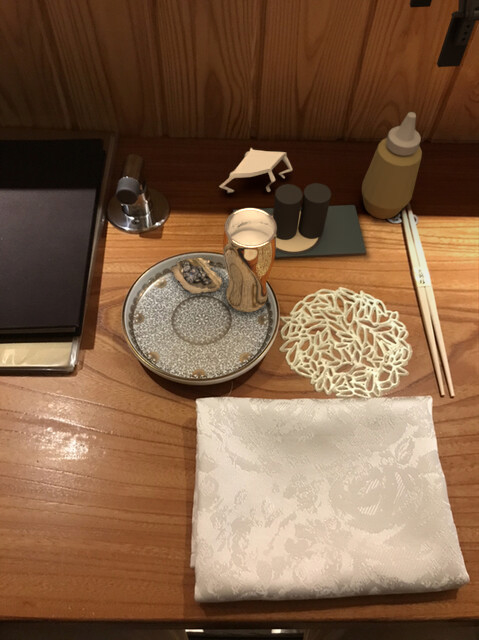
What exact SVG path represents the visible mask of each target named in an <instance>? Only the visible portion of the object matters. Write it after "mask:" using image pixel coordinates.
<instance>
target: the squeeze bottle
mask: <svg viewBox="0 0 479 640" xmlns="http://www.w3.org/2000/svg"><path fill="white" fill-rule="evenodd" d="M416 120H417V114H416V113H415V112H414V111H408V112H407V114H406V116H405V117H404V119H403V120H402V122H401V123H400V125H398V126H395V127H392V128H391V129H390V130H389V131H388V134H387V137H385V138H383V139H382V140H381V141H380V142H379V143H378V145H377V147H376V149H375V152H374V154H373V157H372V159H371V162H370V164H369V167H368V169H367V171H366V173H365V176H364V178H363V180H362V185H361V189H360V190H361V195H362V202H363V206H364V209H365V211H366V212H367V213H368V214H369V215H370V216H372V217H374V218H377V219H381V220H386V219H391V218H394V217H396V216H397V215H398V214H399V213H400V212H401V211H402V210H403V209H404V208H405V207H406V206H407V205H408V204H409V202H410V201H411V200H412V199H413V194H414V190H415V185H416V181H417V177H418V174H419V168H420V166H421V160H422V155H423V151H422V149H421V146H420V144H421V138H422V137H421V134H420V133H419V132H418V131H417V130H416V122H417V121H416Z"/></svg>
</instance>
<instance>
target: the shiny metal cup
mask: <svg viewBox="0 0 479 640" xmlns="http://www.w3.org/2000/svg"><path fill="white" fill-rule="evenodd" d="M238 209H239V208H238ZM261 209H262V208H256V207H243V208H240V209H239V210H237V209H236V210H237V211H235V212H233V211H232V213H231V214H230V215H228V217H227V218H226V220H225V222H224V231H223V239H222V255H223V256H222V257H223V261H224V266H225V270H226V273H227V277H228V285H227V288H226V294H225V296H226V300H227V302H228V304H229V305H230V306H231V307H232V308H233V309H235V310H236V311H238V312H243V313H252V312H255V311H258V310H260V309H261V308H263V307H264V306H265V304H266V303H267V300H268V297H269V295H268V293H269V292H268V286H267V281H268V278H269V276H270V273H271V271H272V269H273V266H274V263H275V260H276V259H275V254H276V245H277V225H276V222H275V220H274V218H273V217H272V216H271V215H270V214H269V213H267V212H265V211H263V210H261ZM266 286H267V287H266Z"/></svg>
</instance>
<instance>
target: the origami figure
mask: <svg viewBox="0 0 479 640" xmlns="http://www.w3.org/2000/svg"><path fill="white" fill-rule="evenodd" d="M287 153H288V152H284V151H266V150H260V149H259V150H258V149H253V147H250V149H249V151H246V152H245V154H244V158H243V159H242V160H241V162H240V163H239V164H238V166H236V168H235V169H234V170H233V171H231V172H230V173H229V177H228V178H227V179H226V180H225V181H224V182H223V183H221V184H220V185H219V188H221V189H223V190H226V191H227V192H226V193H227V194H232V193H234V192H235V190H234V189H232V188H230V187H227V186H226V185H227V184H228V183H230V182H231V181H232V180H234V179H239V178H240V179H241V178H251V177H256V176H259V175H263V174H267V173H268V175H269V179H270V182H269V183H268V184H267V185H266V186H265V190H266V192H268V193H270V192H271V187H270V186H271V185H272V184H273V183H274V182H276V178H275V175H274V173H273V169H274V168H275V167H276V166H277V165H279V163H280V162H281V161H283V163H285V165H286V167H287V168H288V169H285V170H283V171H280V172H279V173H278V175H279V176H280V177H281V178H282V179H285V178H286V176H285V175H284V174H286V173H290V172H292V171H293V166H292V163H290V160H289V158H288V156H287Z"/></svg>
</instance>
